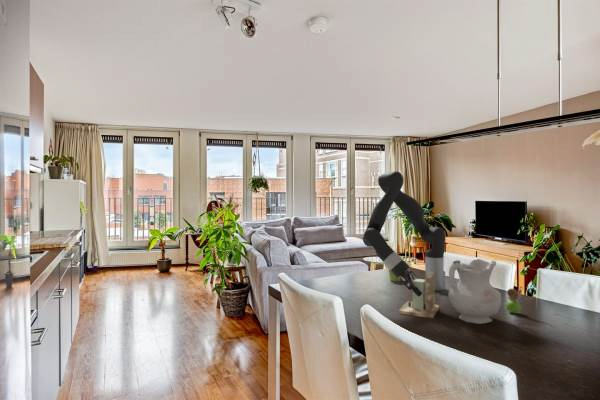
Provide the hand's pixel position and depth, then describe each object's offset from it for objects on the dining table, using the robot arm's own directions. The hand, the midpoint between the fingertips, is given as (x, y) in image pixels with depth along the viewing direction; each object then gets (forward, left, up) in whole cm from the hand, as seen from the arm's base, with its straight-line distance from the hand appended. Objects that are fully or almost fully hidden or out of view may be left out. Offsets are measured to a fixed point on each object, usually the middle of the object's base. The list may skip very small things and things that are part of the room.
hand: (422, 292), depth 160 cm
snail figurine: (-36, +11, -8) cm, 38 cm away
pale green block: (+1, -1, -7) cm, 7 cm away
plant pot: (-14, -56, -8) cm, 58 cm away
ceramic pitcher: (-14, +14, -8) cm, 21 cm away
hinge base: (+1, -1, -8) cm, 8 cm away
